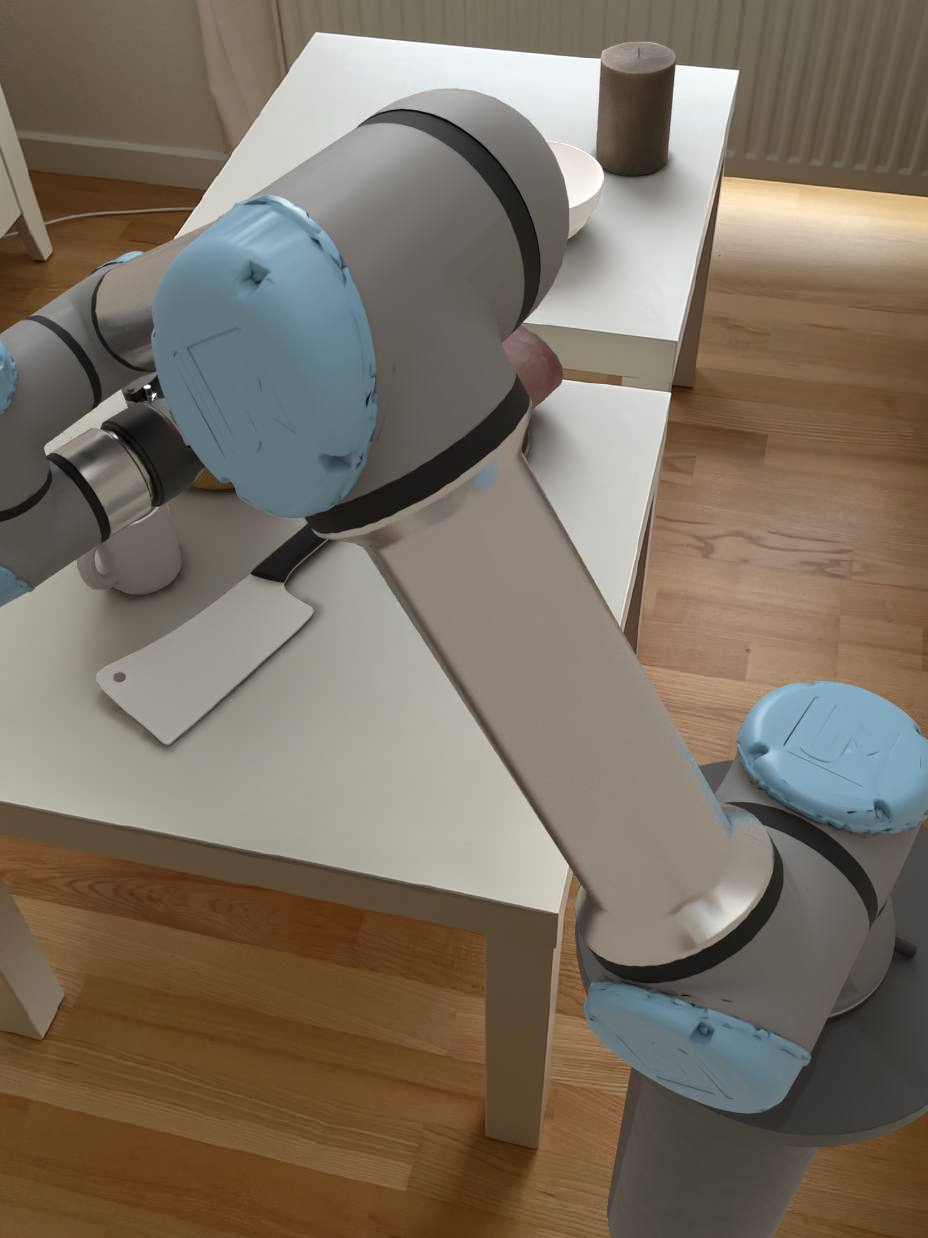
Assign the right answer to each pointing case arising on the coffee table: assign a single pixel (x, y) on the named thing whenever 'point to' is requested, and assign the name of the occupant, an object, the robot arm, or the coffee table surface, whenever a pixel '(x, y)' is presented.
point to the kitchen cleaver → (213, 647)
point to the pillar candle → (635, 107)
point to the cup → (136, 556)
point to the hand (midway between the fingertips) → (331, 341)
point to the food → (534, 364)
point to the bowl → (579, 182)
